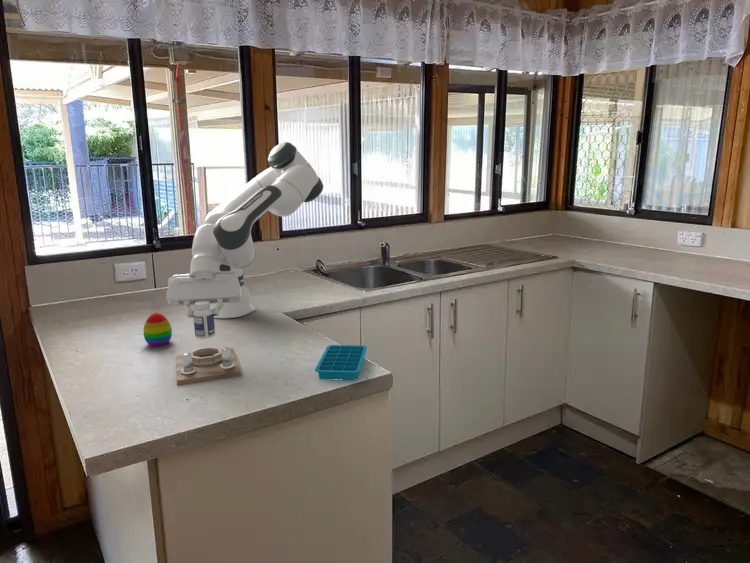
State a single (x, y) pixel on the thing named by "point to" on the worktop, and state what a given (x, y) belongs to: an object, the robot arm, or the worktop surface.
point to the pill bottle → (203, 320)
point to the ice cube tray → (341, 362)
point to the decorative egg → (157, 330)
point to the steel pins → (190, 370)
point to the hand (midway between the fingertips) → (203, 315)
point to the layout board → (206, 366)
